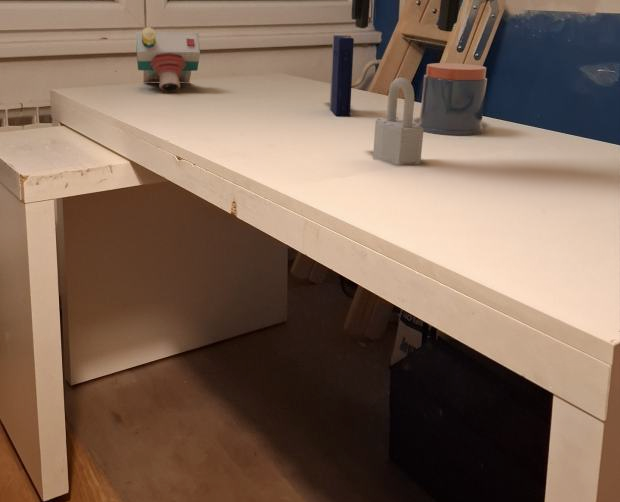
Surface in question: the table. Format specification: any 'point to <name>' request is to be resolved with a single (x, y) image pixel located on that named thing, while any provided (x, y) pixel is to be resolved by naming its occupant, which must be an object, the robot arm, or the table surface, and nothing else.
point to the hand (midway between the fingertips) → (403, 29)
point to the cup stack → (453, 99)
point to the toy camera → (167, 57)
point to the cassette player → (341, 75)
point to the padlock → (398, 129)
